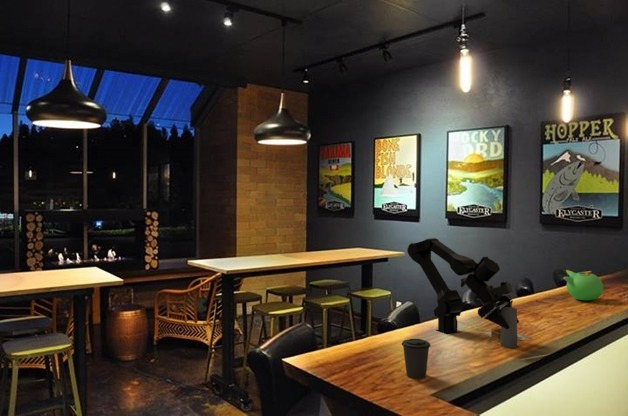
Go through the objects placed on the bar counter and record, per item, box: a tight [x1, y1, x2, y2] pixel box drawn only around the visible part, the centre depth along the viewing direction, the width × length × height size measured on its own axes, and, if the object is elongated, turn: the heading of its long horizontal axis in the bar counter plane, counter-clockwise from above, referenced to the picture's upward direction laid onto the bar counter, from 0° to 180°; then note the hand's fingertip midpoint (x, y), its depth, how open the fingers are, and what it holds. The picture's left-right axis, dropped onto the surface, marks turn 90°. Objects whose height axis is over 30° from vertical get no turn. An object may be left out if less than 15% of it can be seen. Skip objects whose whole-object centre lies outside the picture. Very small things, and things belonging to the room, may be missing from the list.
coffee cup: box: [401, 338, 431, 380], centre depth 135 cm, size 8×8×10 cm
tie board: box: [478, 327, 532, 342], centre depth 174 cm, size 13×13×2 cm
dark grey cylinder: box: [500, 307, 518, 349], centre depth 161 cm, size 5×5×13 cm
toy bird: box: [563, 269, 604, 302], centre depth 238 cm, size 18×17×15 cm
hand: (513, 325), depth 160 cm, fingers open, 9 cm apart
